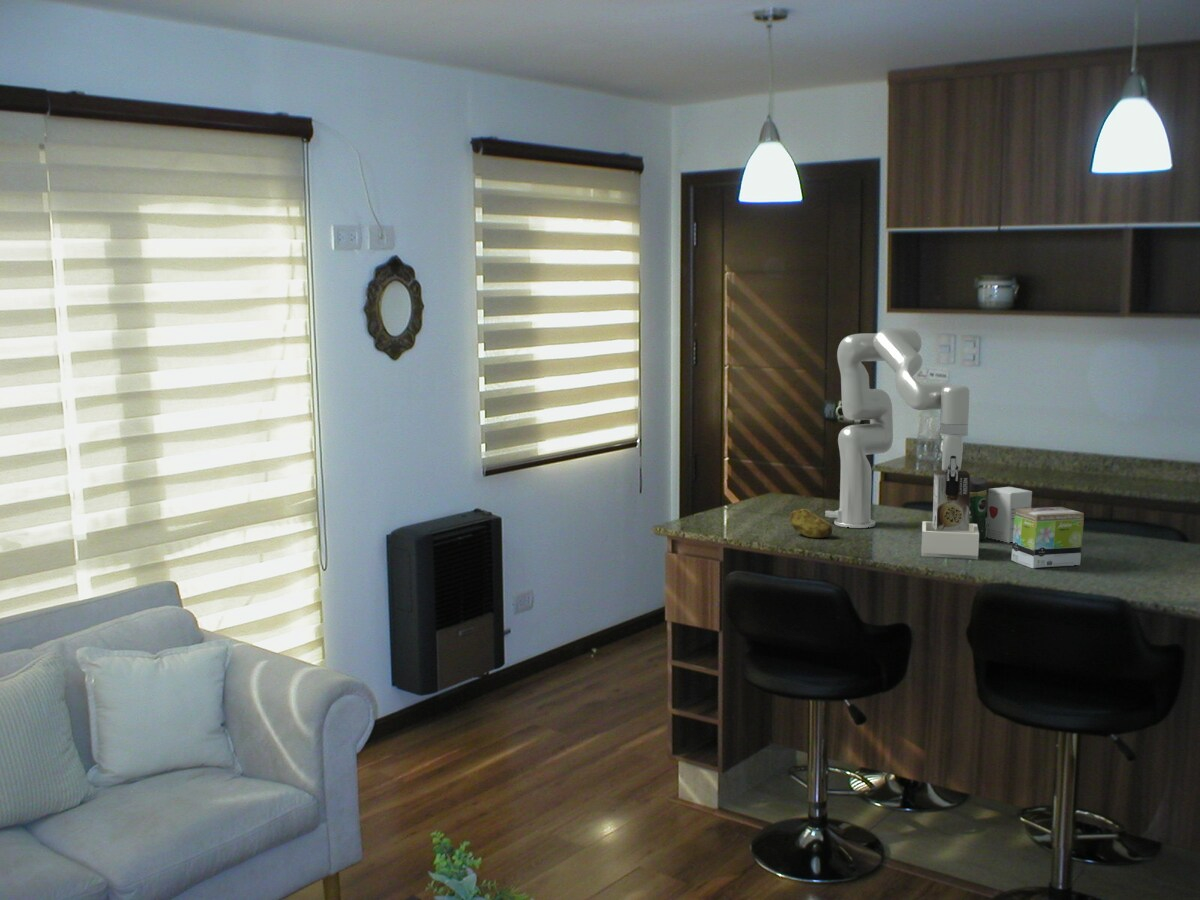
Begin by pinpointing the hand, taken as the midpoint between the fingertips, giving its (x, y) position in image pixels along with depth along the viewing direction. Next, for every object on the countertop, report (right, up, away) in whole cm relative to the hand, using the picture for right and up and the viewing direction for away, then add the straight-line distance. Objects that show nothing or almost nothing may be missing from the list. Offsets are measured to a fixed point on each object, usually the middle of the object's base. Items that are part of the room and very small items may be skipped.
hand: (951, 492), depth 328 cm
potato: (-35, -14, +24) cm, 45 cm away
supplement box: (+22, -15, +19) cm, 33 cm away
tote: (0, -17, +2) cm, 17 cm away
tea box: (+22, -19, -11) cm, 31 cm away
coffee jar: (+11, -15, +19) cm, 27 cm away
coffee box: (0, -10, +1) cm, 10 cm away
